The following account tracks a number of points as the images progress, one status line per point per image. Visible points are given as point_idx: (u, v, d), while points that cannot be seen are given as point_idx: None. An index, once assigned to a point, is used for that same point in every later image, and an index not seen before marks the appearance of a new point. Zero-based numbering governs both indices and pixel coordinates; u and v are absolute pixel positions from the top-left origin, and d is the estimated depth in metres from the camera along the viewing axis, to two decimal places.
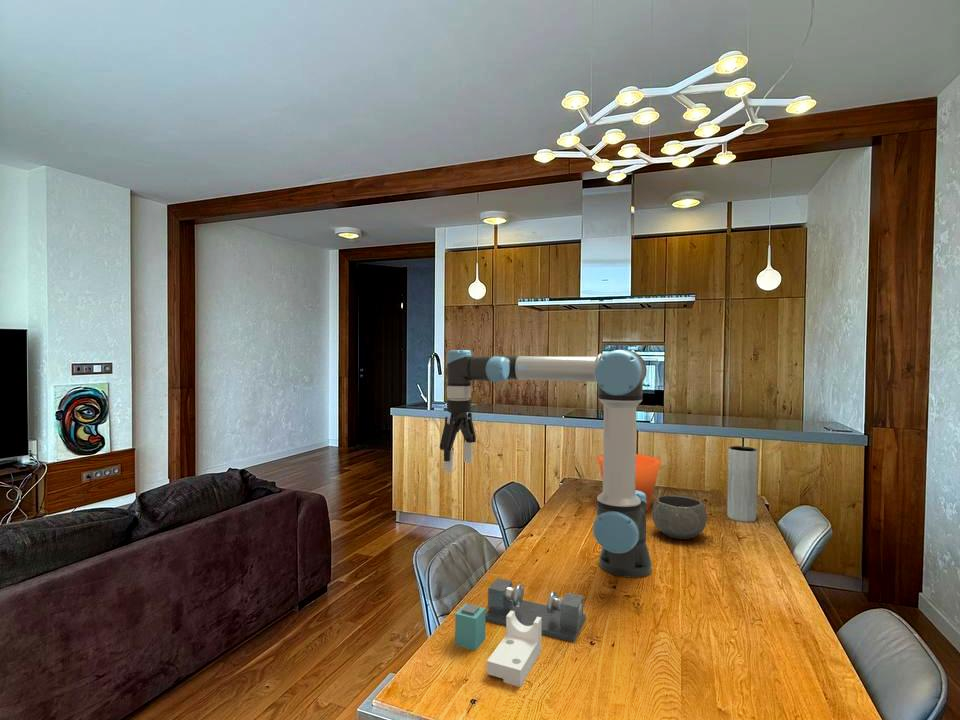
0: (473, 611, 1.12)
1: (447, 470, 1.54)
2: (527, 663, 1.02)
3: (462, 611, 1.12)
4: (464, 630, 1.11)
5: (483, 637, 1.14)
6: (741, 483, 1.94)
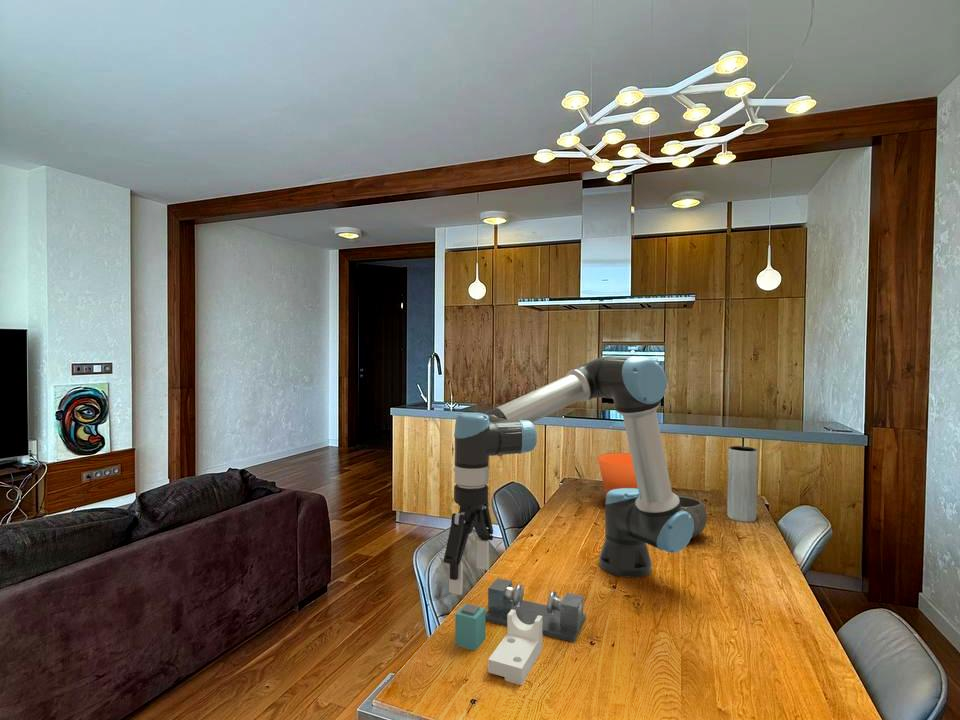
0: (473, 611, 1.12)
1: (454, 591, 1.07)
2: (528, 662, 1.03)
3: (462, 611, 1.12)
4: (464, 630, 1.11)
5: (483, 637, 1.14)
6: (741, 483, 1.94)
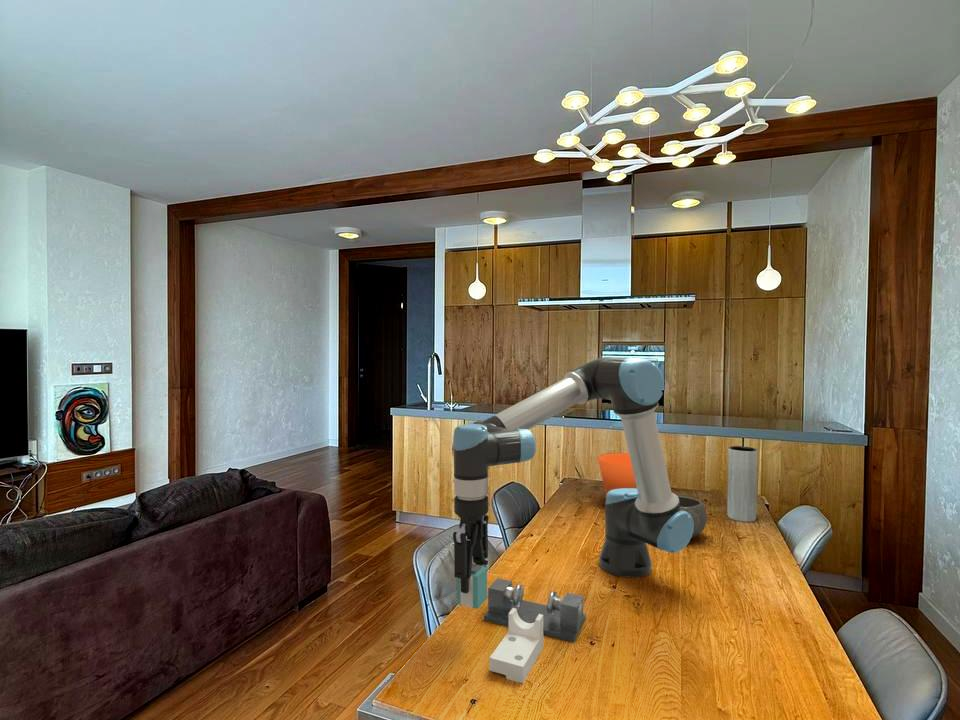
0: (474, 570, 1.12)
1: (465, 604, 1.11)
2: (530, 660, 1.03)
3: None
4: None
5: (485, 596, 1.14)
6: (741, 483, 1.94)
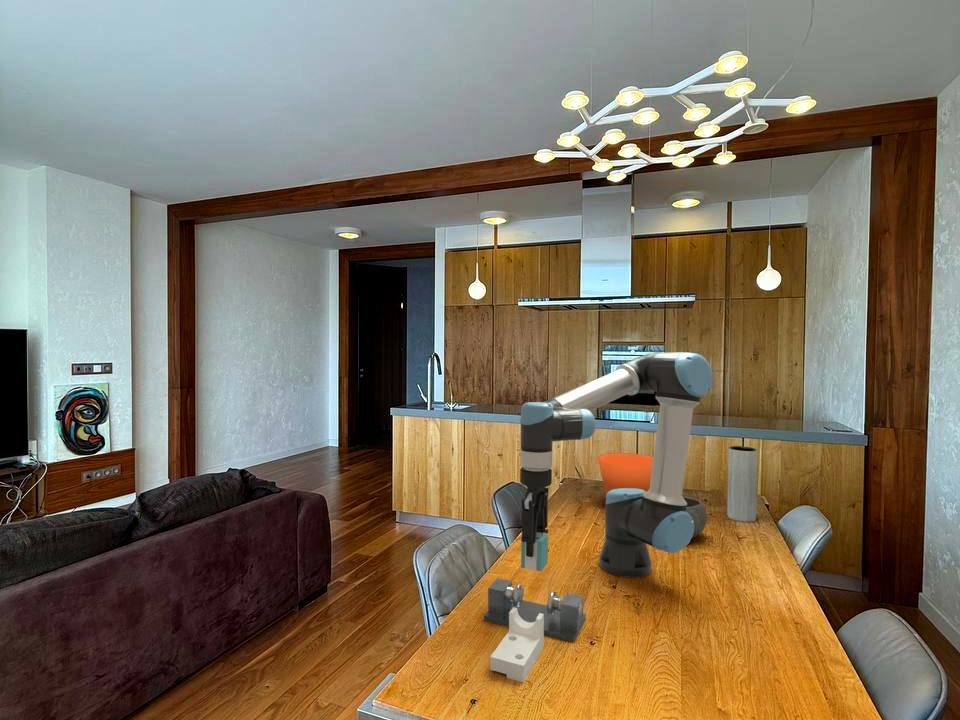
0: (538, 536, 1.21)
1: (530, 567, 1.20)
2: (530, 659, 1.04)
3: None
4: None
5: (546, 561, 1.23)
6: (741, 483, 1.94)
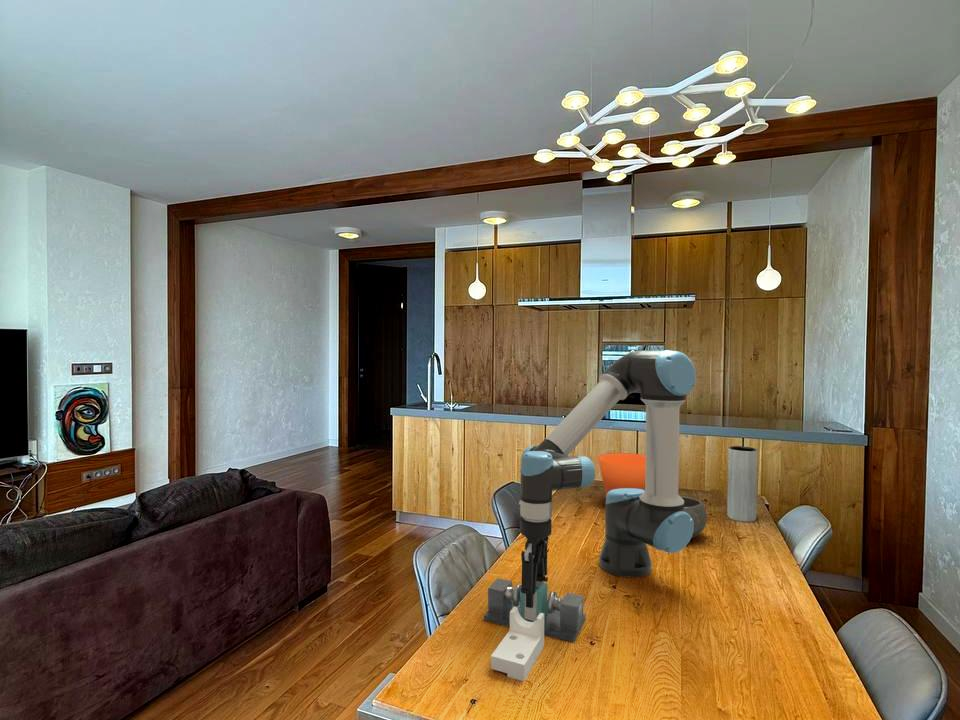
0: (537, 585, 1.21)
1: (529, 618, 1.20)
2: (531, 658, 1.04)
3: None
4: None
5: (546, 610, 1.23)
6: (741, 483, 1.94)
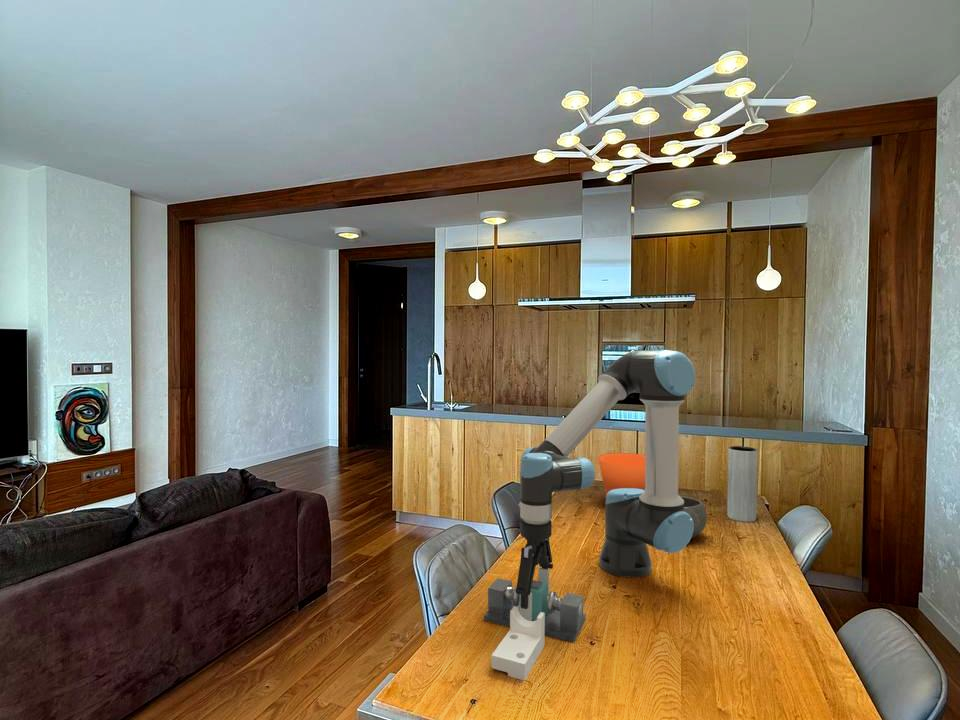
0: (537, 586, 1.21)
1: None
2: (531, 658, 1.04)
3: None
4: None
5: (546, 610, 1.23)
6: (741, 483, 1.94)
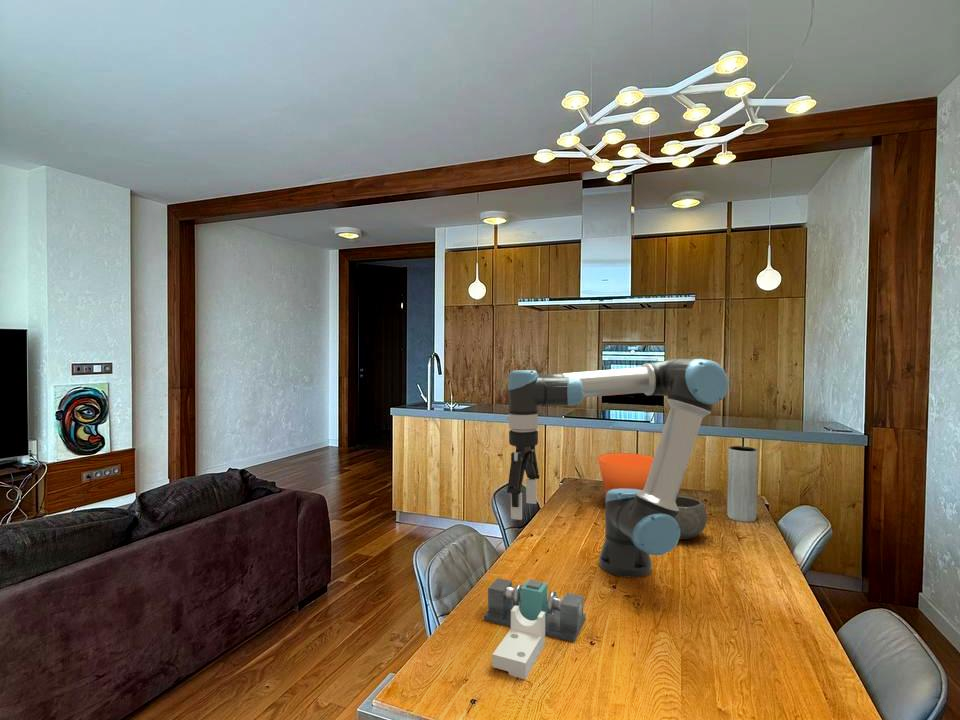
0: (537, 586, 1.21)
1: (515, 517, 1.27)
2: (532, 657, 1.04)
3: (527, 586, 1.22)
4: (529, 603, 1.21)
5: (546, 610, 1.23)
6: (741, 483, 1.94)
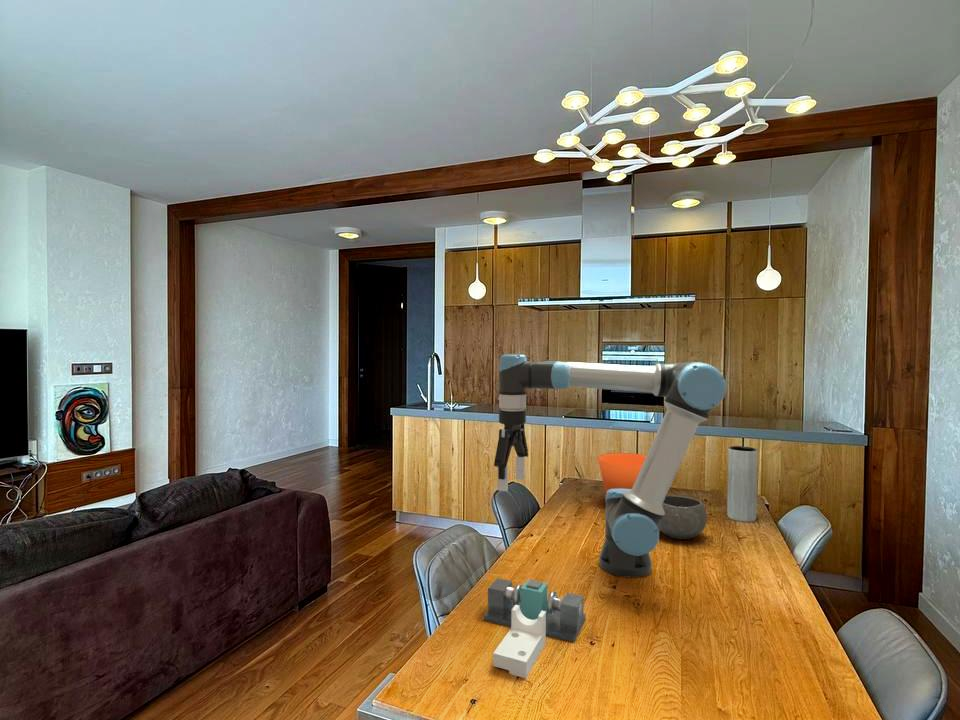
0: (537, 586, 1.21)
1: (502, 489, 1.38)
2: (533, 656, 1.05)
3: (527, 586, 1.22)
4: (529, 603, 1.21)
5: (546, 610, 1.23)
6: (741, 483, 1.94)
